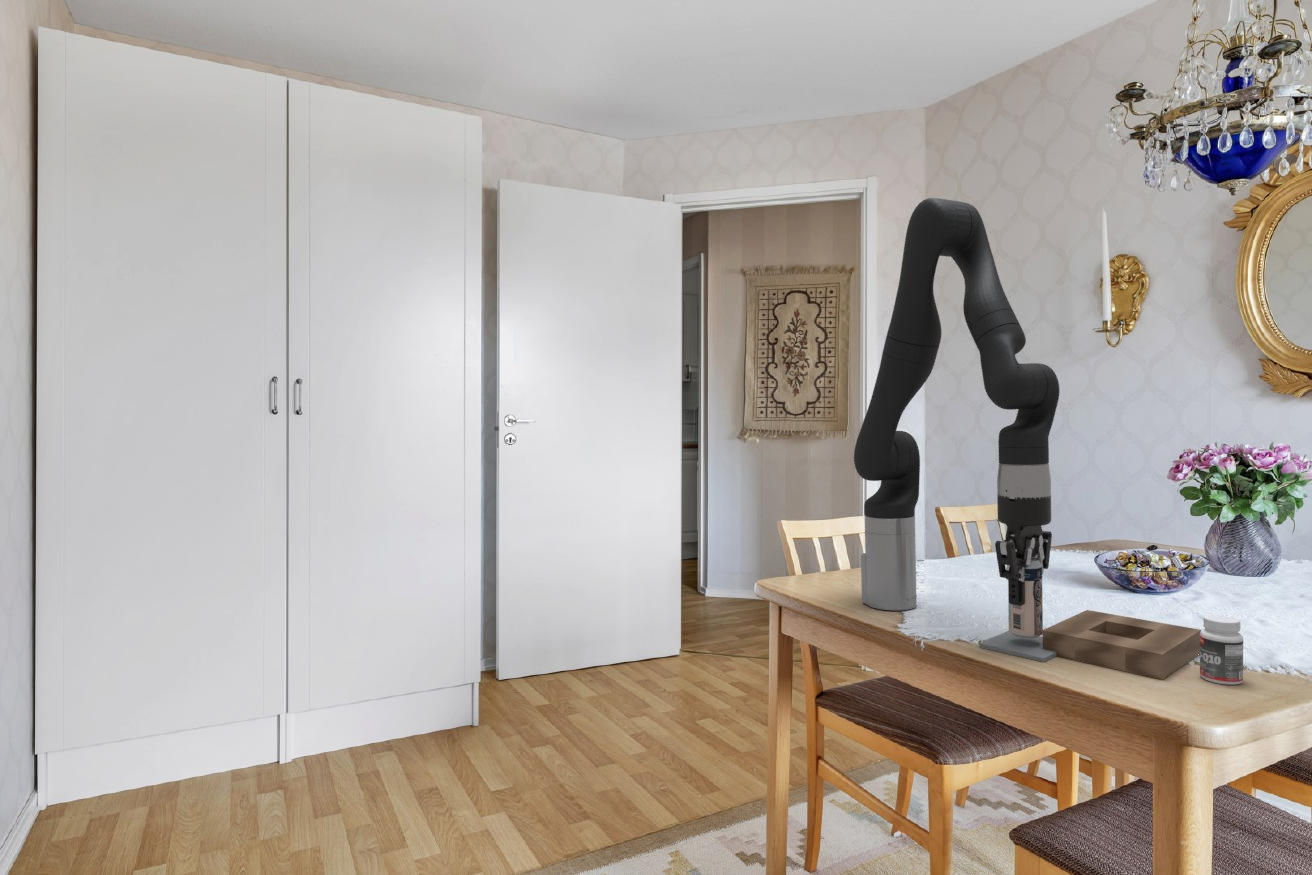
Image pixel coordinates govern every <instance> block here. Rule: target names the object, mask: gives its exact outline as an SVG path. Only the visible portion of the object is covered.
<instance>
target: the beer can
mask: <svg viewBox="0 0 1312 875" xmlns="http://www.w3.org/2000/svg"><path fill="white" fill-rule="evenodd" d="M1032 558H1034V557H1032ZM1032 558H1031V561H1030V566H1029V567H1027V568H1026V572H1025V579H1024V582H1025V604H1024V605H1022V606H1018V605H1013V604H1010V603H1009V589H1008V588H1007V590H1008V593H1007V594H1008V596H1007V597H1008V631H1009V632H1010V633H1012V634H1013V635H1015V636H1017V637H1021V638H1037V637H1038V636H1043V630H1044V626H1043V625H1044V624H1043V622H1044V618H1043V614H1044V612H1043V610H1044V609H1043V607H1044V606H1043V575H1042V565H1041V563H1040V561H1039V559H1037V558H1035V559H1032ZM1017 560H1023V559H1018V558H1017ZM1018 571H1019V566H1018Z"/></svg>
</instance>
